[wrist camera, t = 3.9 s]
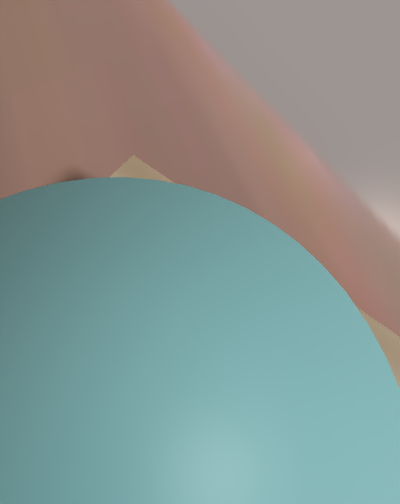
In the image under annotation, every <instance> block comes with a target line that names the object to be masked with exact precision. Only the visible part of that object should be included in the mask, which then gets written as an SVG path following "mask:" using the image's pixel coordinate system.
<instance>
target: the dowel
mask: <svg viewBox="0 0 400 504" xmlns="http://www.w3.org/2000/svg"><path fill="white" fill-rule="evenodd" d="M0 504H400V389H399V387H398V384H397V382H396V379H395V377H394V374H393V372H392V370H391V367H390V365H389V362H388V360H387V358H386V356H385V354H384V352H383V351H382V349H381V347H380V345H379V343H378V341H377V340H376V338H375V336H374V334H373V332H372V330H371V329H370V327H369V325H368V323H367V322H366V320H365V319H364V317H363V316H362V315H361V313H360V312H359V310H358V309H357V307H356V306H355V304H354V303H353V301H352V300H351V299H350V297H349V296H348V294H347V293H346V292H345V291H344V289H343V288H342V287H341V286H340V285H339V284H338V282H337V281H336V280H335V279H334V278H333V277H332V275H331V274H330V273H329V272H328V271H327V270H326V269H325V267H324V266H323V265H322V264H321V263H320V262H318V261H317V260H316V259H315V258H314V257H313V256H312V255H311V254H310V253H309V252H308V251H307V250H306V249H304V248H303V247H302V246H301V245H300V244H299V243H298V242H297V241H295V240H294V239H293V238H291V237H290V236H288V235H287V234H286V233H284V232H283V231H282V230H280V229H279V228H278V227H276V226H275V225H274V224H272V223H271V222H269V221H267V220H265V219H264V218H262V217H260V216H259V215H257V214H255V213H253V212H252V211H250V210H248V209H246V208H245V207H243V206H240V205H238V204H236V203H233V202H231V201H229V200H227V199H224V198H222V197H220V196H217V195H215V194H212V193H209V192H205V191H202V190H199V189H196V188H192V187H189V186H186V185H181V184H176V183H170V182H165V181H160V180H154V179H141V178H129V177H110V178H88V179H81V180H73V181H66V182H59V183H54V184H50V185H46V186H42V187H38V188H34V189H30V190H26V191H23V192H20V193H17V194H14V195H11V196H8V197H6V198H3V199H0Z"/></svg>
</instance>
